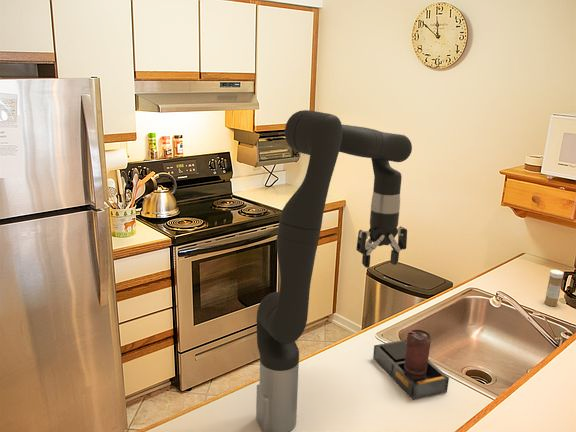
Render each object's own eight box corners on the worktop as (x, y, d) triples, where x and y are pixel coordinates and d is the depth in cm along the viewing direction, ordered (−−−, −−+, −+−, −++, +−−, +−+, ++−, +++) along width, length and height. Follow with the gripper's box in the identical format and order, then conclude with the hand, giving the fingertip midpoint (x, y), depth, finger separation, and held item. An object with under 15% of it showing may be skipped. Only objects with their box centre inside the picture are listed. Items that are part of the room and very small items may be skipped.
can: (402, 370, 146) (408, 326, 142) (425, 375, 144) (432, 331, 140) (400, 382, 140) (406, 337, 136) (424, 387, 139) (430, 342, 135)
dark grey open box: (412, 400, 135) (414, 383, 133) (372, 358, 153) (373, 343, 152) (447, 392, 138) (449, 376, 137) (404, 352, 157) (405, 338, 156)
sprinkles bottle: (547, 300, 198) (553, 268, 194) (559, 304, 194) (566, 272, 190) (542, 303, 195) (548, 271, 191) (554, 307, 191) (560, 274, 188)
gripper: (368, 214, 130) (363, 273, 134) (415, 210, 134) (409, 267, 139) (354, 206, 136) (350, 263, 141) (400, 203, 141) (395, 258, 146)
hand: (380, 265), depth 140 cm, fingers open, 8 cm apart
